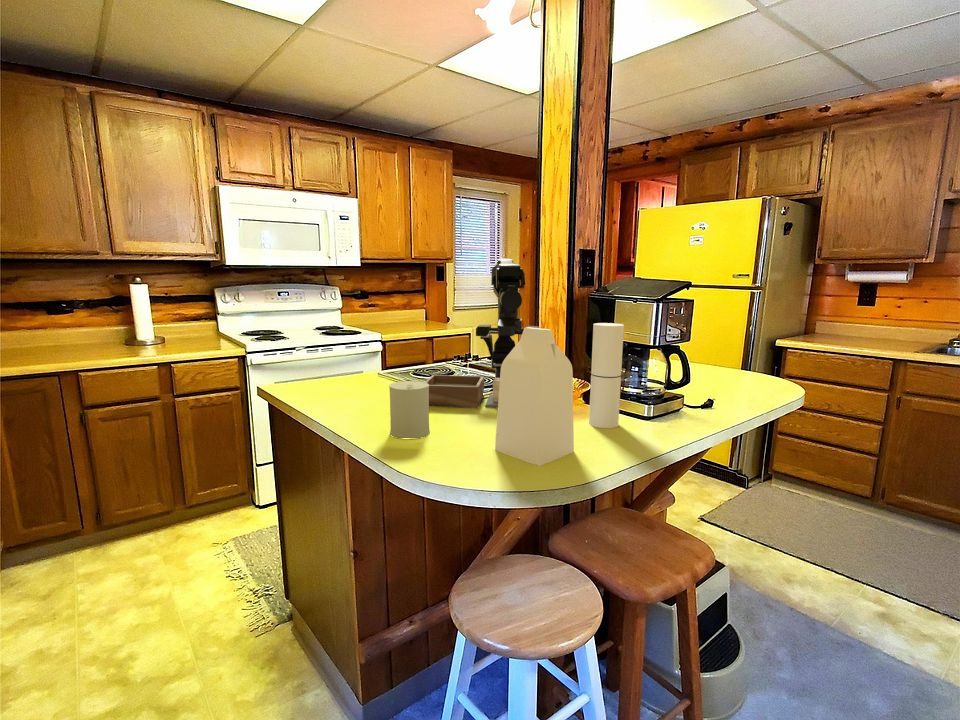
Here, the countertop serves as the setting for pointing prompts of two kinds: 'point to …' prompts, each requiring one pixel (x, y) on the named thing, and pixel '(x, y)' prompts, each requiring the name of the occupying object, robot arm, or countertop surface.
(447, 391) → the crate
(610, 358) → the cylindrical container
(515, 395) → the milk
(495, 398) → the block
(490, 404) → the pad
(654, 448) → the countertop surface
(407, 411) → the can
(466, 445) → the countertop surface
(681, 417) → the countertop surface
